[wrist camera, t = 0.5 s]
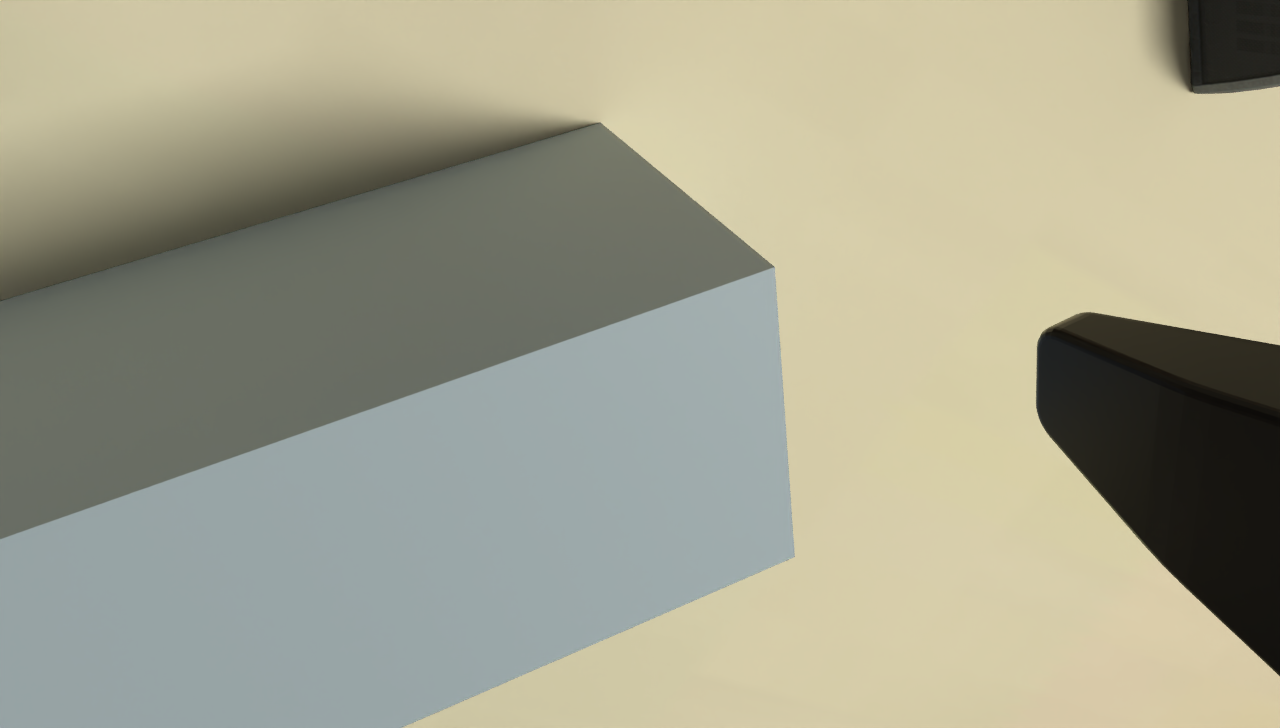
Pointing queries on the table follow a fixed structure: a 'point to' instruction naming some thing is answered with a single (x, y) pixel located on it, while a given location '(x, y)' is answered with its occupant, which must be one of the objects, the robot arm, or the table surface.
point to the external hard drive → (1234, 45)
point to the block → (384, 448)
